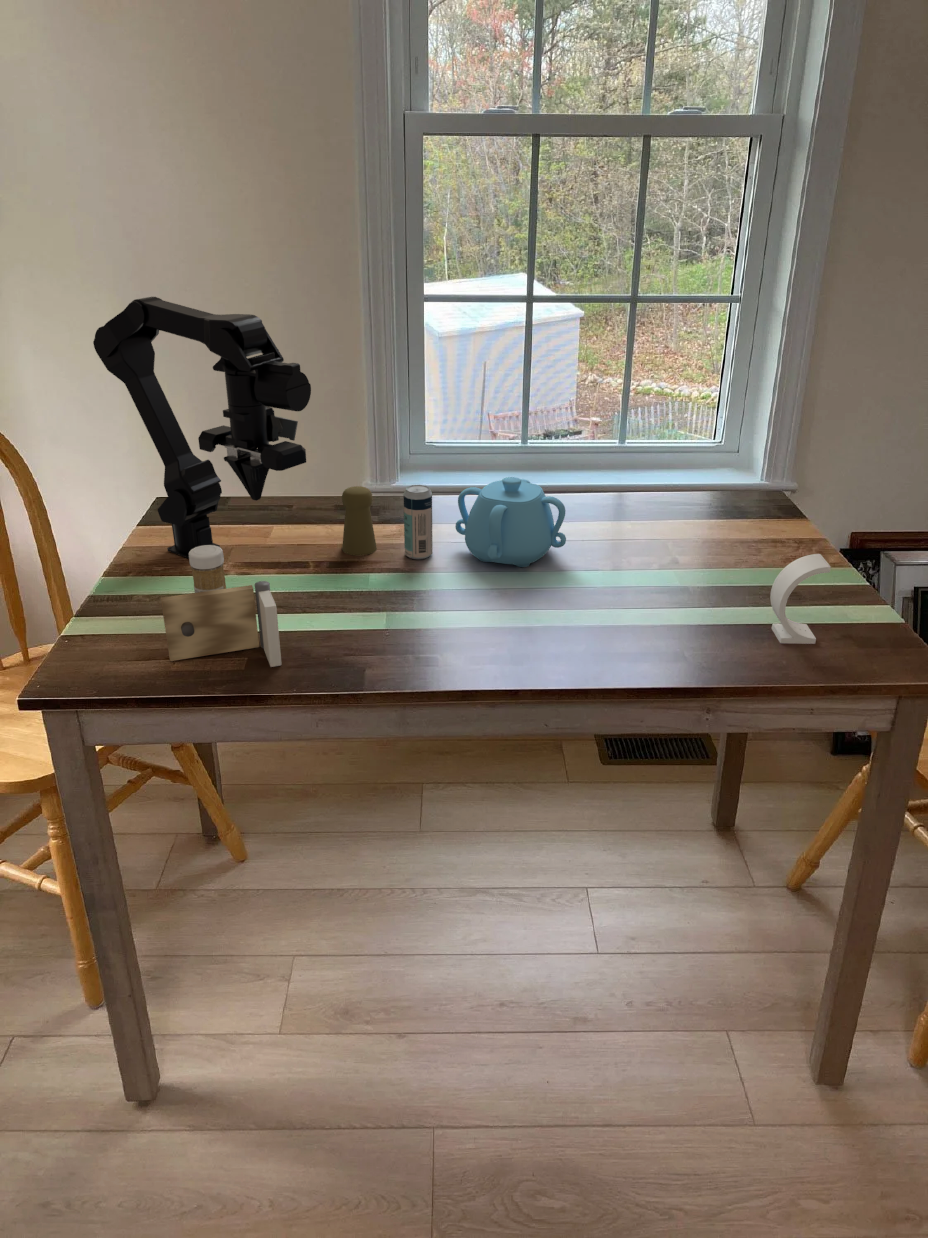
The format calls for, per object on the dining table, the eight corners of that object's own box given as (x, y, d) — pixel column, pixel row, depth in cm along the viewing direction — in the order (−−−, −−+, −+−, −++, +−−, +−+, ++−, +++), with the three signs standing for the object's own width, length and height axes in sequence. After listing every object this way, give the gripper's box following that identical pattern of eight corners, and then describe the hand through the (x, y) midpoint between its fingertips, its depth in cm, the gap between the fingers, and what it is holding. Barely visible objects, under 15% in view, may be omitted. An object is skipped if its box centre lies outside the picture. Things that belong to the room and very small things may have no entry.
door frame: (259, 643, 133) (253, 582, 129) (273, 641, 134) (268, 580, 129) (268, 667, 127) (262, 604, 123) (283, 664, 128) (277, 601, 123)
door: (257, 643, 133) (251, 585, 128) (260, 650, 131) (254, 592, 126) (169, 657, 129) (160, 597, 125) (171, 665, 127) (161, 605, 123)
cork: (374, 555, 161) (372, 494, 156) (339, 555, 161) (336, 494, 156) (378, 542, 167) (376, 482, 162) (344, 541, 167) (341, 482, 162)
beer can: (437, 552, 163) (437, 486, 157) (424, 562, 159) (424, 495, 153) (412, 548, 164) (411, 482, 159) (399, 557, 161) (398, 490, 155)
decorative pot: (572, 567, 158) (577, 490, 152) (482, 579, 153) (484, 499, 147) (534, 532, 172) (537, 460, 166) (450, 542, 167) (451, 468, 161)
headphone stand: (815, 643, 135) (831, 567, 129) (772, 643, 135) (786, 566, 129) (805, 628, 139) (820, 553, 133) (764, 628, 139) (777, 553, 133)
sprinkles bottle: (236, 629, 137) (226, 543, 131) (228, 645, 133) (217, 556, 127) (204, 629, 137) (193, 543, 131) (196, 644, 133) (183, 556, 127)
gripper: (328, 401, 145) (334, 498, 152) (245, 383, 154) (254, 475, 161) (274, 416, 137) (283, 517, 144) (190, 396, 146) (202, 492, 153)
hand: (256, 499), depth 151 cm, fingers closed
